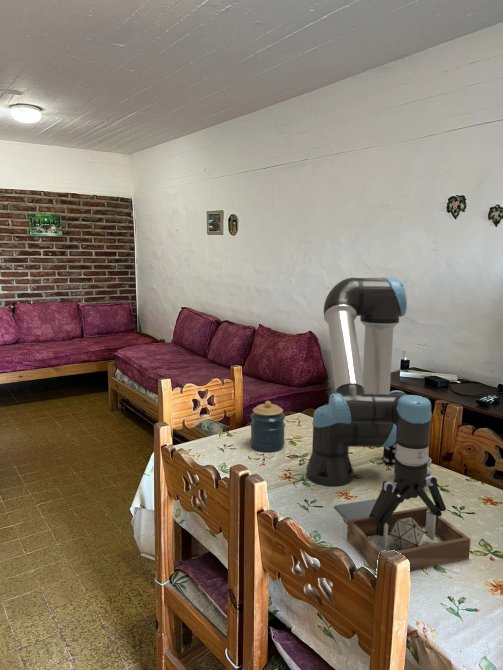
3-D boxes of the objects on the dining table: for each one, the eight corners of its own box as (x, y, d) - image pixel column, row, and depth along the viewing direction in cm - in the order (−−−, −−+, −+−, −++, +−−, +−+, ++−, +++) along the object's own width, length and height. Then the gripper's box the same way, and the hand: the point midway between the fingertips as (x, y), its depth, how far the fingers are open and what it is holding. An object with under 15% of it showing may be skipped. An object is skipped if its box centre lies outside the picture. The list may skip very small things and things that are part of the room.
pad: (334, 507, 140) (334, 505, 140) (376, 500, 145) (376, 498, 144) (354, 529, 129) (355, 527, 129) (400, 521, 133) (400, 519, 133)
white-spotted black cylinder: (381, 464, 169) (384, 409, 166) (384, 455, 177) (387, 402, 174) (406, 468, 166) (410, 412, 163) (408, 459, 174) (411, 405, 171)
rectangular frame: (346, 538, 125) (347, 520, 124) (426, 523, 132) (427, 506, 131) (381, 577, 110) (382, 557, 109) (468, 558, 117) (470, 539, 116)
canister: (246, 450, 181) (247, 404, 178) (254, 438, 193) (254, 395, 190) (281, 454, 178) (282, 407, 175) (287, 441, 190) (287, 397, 188)
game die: (412, 565, 120) (430, 550, 113) (379, 550, 121) (395, 533, 114) (416, 532, 127) (434, 516, 120) (385, 518, 128) (401, 501, 121)
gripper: (374, 473, 110) (369, 559, 113) (465, 460, 118) (458, 541, 121) (357, 460, 117) (353, 542, 120) (444, 449, 125) (438, 526, 128)
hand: (406, 542), depth 121 cm, fingers open, 13 cm apart
